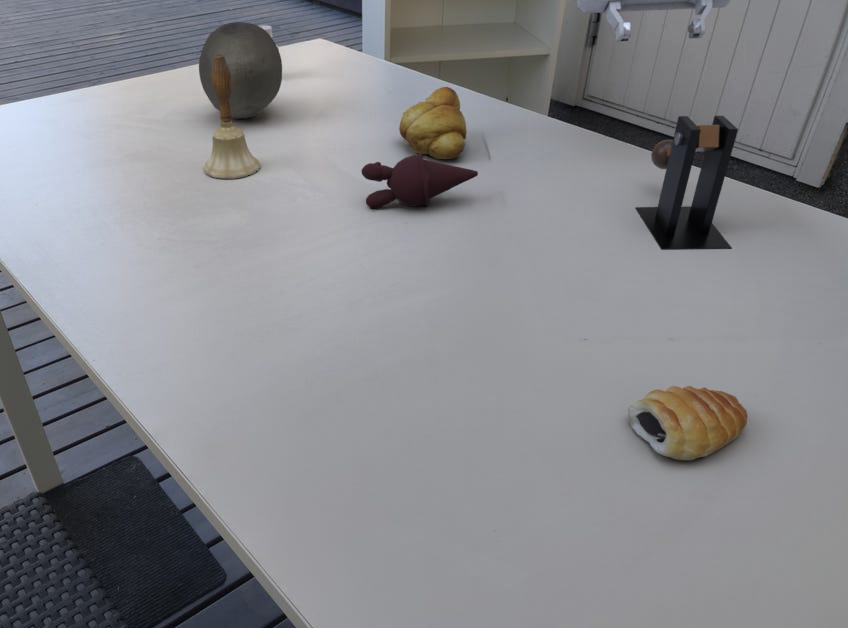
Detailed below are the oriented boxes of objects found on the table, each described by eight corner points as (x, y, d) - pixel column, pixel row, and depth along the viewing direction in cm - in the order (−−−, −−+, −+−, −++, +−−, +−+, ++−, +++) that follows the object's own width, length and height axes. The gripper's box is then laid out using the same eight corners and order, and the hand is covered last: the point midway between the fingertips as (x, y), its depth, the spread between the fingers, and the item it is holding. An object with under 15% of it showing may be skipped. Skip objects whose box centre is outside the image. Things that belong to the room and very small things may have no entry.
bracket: (633, 215, 94) (656, 106, 86) (696, 214, 94) (726, 105, 86) (659, 258, 86) (687, 141, 77) (729, 257, 85) (765, 140, 77)
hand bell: (251, 153, 114) (238, 44, 104) (267, 173, 108) (255, 58, 98) (198, 163, 111) (179, 51, 102) (211, 183, 105) (193, 67, 96)
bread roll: (476, 162, 109) (480, 108, 104) (411, 168, 108) (412, 113, 103) (453, 132, 119) (455, 81, 115) (394, 137, 118) (394, 86, 113)
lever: (646, 171, 96) (647, 142, 95) (674, 170, 96) (675, 142, 95) (692, 153, 82) (693, 119, 81) (725, 152, 81) (726, 118, 81)
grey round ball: (189, 126, 124) (173, 31, 115) (232, 100, 135) (221, 11, 126) (263, 136, 120) (252, 38, 111) (302, 109, 130) (295, 17, 121)
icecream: (471, 142, 98) (359, 156, 99) (481, 148, 92) (360, 164, 92) (474, 194, 101) (365, 208, 101) (484, 204, 94) (367, 219, 95)
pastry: (708, 394, 66) (720, 360, 64) (764, 444, 61) (779, 409, 58) (618, 420, 63) (626, 385, 61) (669, 473, 58) (680, 438, 56)
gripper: (579, -75, 95) (585, 27, 94) (741, -82, 94) (750, 20, 93) (568, -43, 101) (573, 53, 100) (720, -50, 101) (728, 47, 99)
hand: (660, 37), depth 96 cm, fingers open, 8 cm apart
